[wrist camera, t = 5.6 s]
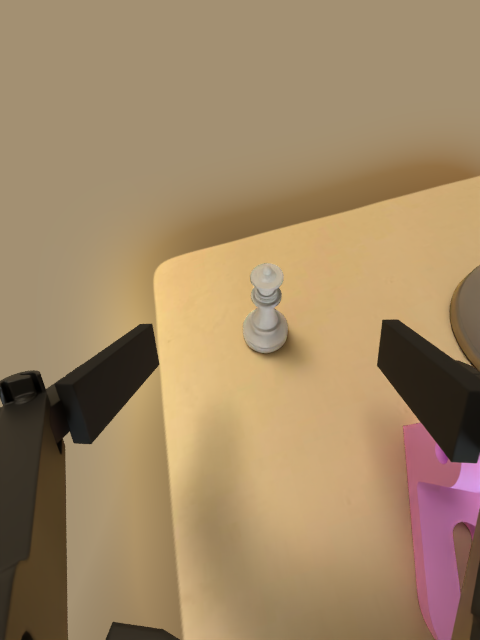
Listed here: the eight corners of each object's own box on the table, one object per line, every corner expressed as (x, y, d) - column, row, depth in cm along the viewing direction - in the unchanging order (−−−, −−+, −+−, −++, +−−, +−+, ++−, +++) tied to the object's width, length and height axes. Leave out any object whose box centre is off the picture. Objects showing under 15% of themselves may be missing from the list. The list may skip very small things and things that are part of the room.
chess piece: (296, 332, 26) (313, 264, 17) (267, 362, 25) (270, 306, 16) (263, 307, 28) (264, 234, 19) (234, 334, 26) (221, 269, 18)
